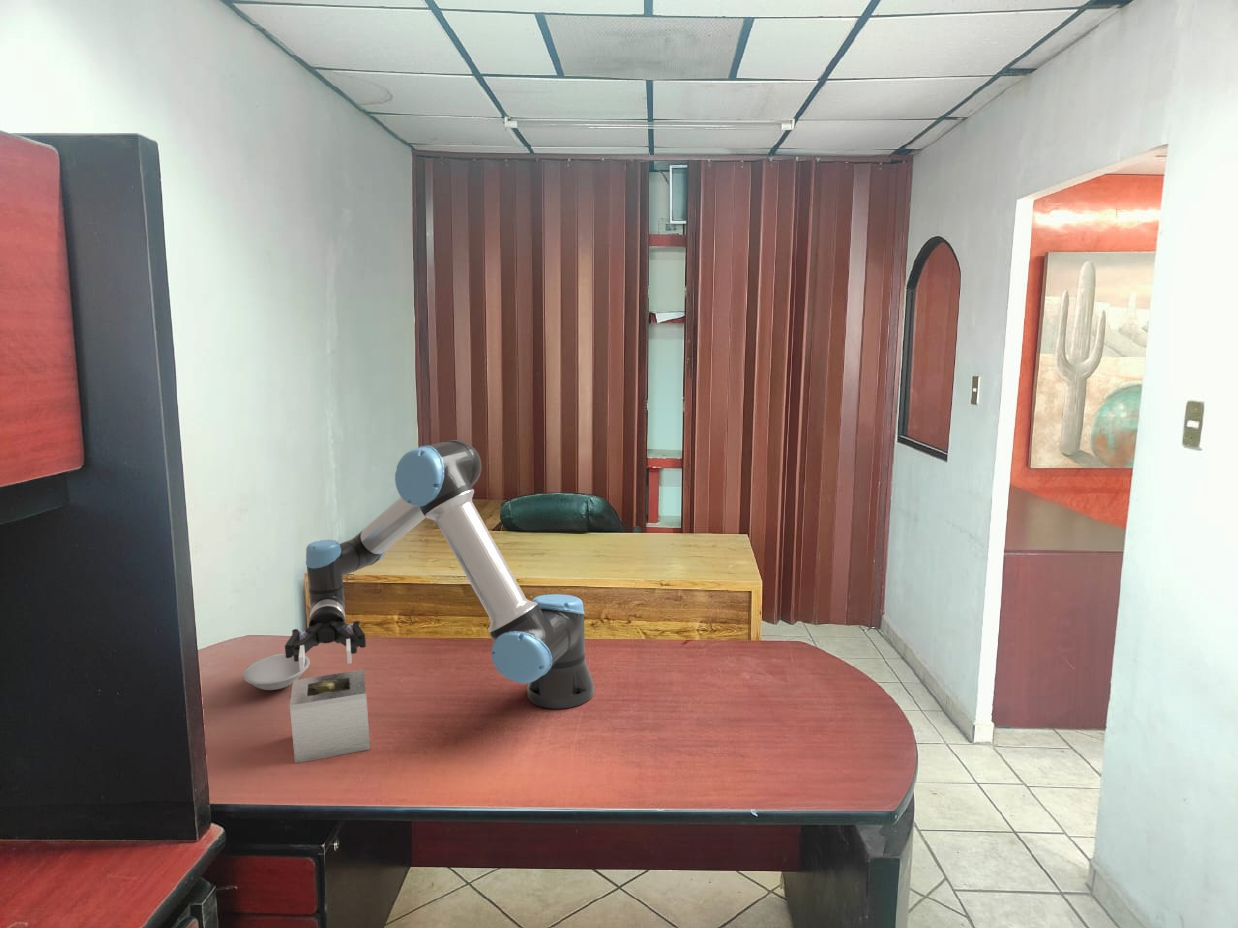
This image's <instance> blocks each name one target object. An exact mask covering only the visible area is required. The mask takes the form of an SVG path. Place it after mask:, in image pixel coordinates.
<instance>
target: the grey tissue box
mask: <svg viewBox="0 0 1238 928" xmlns="http://www.w3.org/2000/svg"><path fill="white" fill-rule="evenodd" d="M365 675H366V673H365V669H359V670H354V671H352V670H351V671H347V672H346V671H345V672H340V673H334V674H327V675H320V676H315V677H314V676H312V677H305V678H298V679H297V680H293V683H292V684H291V685H292V686H291V687H292V688H291V694H290V701H289V711H290V713H289V714H290V723H291V724H290V725H291V735H292V743H293V745H292V746H293V754H294V755H293V756H294V764H297V763H298V764H299V763H304V762H309V761H310V762H311V761H316V760H321V759H326V758H333V757H337V756H342V755H343V756H344V755H347V754H353V753H359V752H364V751H370V750H371V740H370V727H369V716H368V715H369V713H368V712H369V711H368V700H367V690H366V689H367V688H366V677H365ZM326 691H331V693H325V694H319V693H322V692H326ZM317 694H318V695H317Z"/></svg>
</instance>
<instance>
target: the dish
mask: <svg viewBox="0 0 1238 928" xmlns="http://www.w3.org/2000/svg"><path fill="white" fill-rule="evenodd" d="M310 663H311V661H310V658H309V657H308V656H307V655H305V665H304V670H303V671H300V668H299V661H297V662H295V661H294V656H292V657H291V658H286V654H285V652H284V653H277V654H273V655H270V656H266V657H264V658H260V659H258V660H257V661H255V662H253V663H251V664H250V665H249V666H247V667H246V668H245V670H244V671H243V673H242V679H243V680H244V681H245V682H246V683H248V684H251V685H252V686H253V687H255V688H258V689H260V690H264V691H274V690H280V689H283V688H286V687H288V686H291V685H293V680H299V679H300V678H301V676H302V675H303V674H304V673H305V671H306V670H307V669H308V668H309V666H310Z"/></svg>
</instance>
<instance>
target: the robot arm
mask: <svg viewBox="0 0 1238 928" xmlns="http://www.w3.org/2000/svg"><path fill="white" fill-rule="evenodd" d="M481 472H482V459H481V457H480V455H479V452H478V451H477V450H476V449H475V448H474V447H473V446H472V445H471V444H470V443H468V442H465V441H463V440H461V439H460V440H457V439H451V440H445V441H442V442H438V443H431V444H428V445H421V446H418V447H417V448H415V449H411V450H409V451H408V452H406V453H405V454H404V455H403V456H402V457H401V458H400V459H399V461H398V463H397V465H396V471H395V473H394V483H395V487H396V489H397V493H398V494H399V496H400V497H399V498H398V499H396V500H395V501H394V502H393V503H392V504H390V505H389V506H388V507H387V508H386V509H385V510H384V511H383V512H382V513H380V515H379V516H377V517H376V518H375V519H373V520H372V521H371V522H370V523H369V524H368V525H367V526H365V527H364V528H363V529H362V530H361V531H360V532H359V533H357V534H356V535H355V536H354V537H352V538H351V539H348V540H346V541H344V542H341V543H340V542H339V541H337V540H334V539H322V540H321V539H320V540H316V541H313V542H310V543H308V544H307V546H306V549H305V551H306V552H305V565H306V571H307V582H308V595H309V608H310V609H309V610H310V612H309V620H308V627H307V628H306V629H305V630H304V631H302V630H300V629H298V628H295V629H292V633H291V634H292V635H290V637H289V639H288V640H287V641H286V643H285V645H284V653H285V654H286V658H291V657H292V656H294V661H295V662H297V661H299V668H300V671H303V670H304V665H305V656H306V654H307V653H308V652H309V651H310V650H311V649H312V648H313V647H318V646H319V645H320V644H330V643H334V642H335V643H336V644H342V646H344V647H346V649H345V650H346V659H347V665H348V664H353V663H352V655H353V654H357V653H358V648H361V649H363V648H366V647H367V643H366V642H367V641H366V634H365V633H364V631H363V629H362V628H361V624H360V621H359V620H358V621H357V620H355V621H353V623H351V624H350V625H348V624H347V623H346V612H345V609H346V599H345V594H344V578H343V577H345V576H347V575H349V574H352V573H354V572H356V571H358V570H361V569H363V568H365V567H368V566H372V565H375V564H376V563H377V562H379V561H381V560H382V559H383V557H384V556H385V554H386V551H387V550H389V549H390V548H391V547H392V546H393V545H394V544H396V543H398V541H400V540H401V539H402V538H403V537H404V536H405V535H407V534H408V533H409V532H410V531H411V530H412V529H414V528H416V526H417V525H419V524H420V523H421V522H422V521H424V520H425V519H428V520H432V521H435V523H436V525H437V526H438V528H439V529H440V531H441V533H442V535H443V537H444V539H445V541H446V543H447V544H448V546H449V548H450V550H451V552H452V553H453V555H454V556H455V559H456V561H457V562H458V564H459V566H460V568H461V570H462V571H463V573H464V575H465V577H466V578H467V580H468V582H469V584H470V586H471V587H472V590H473V591H474V592H475V594H476V596H477V598H478V600H479V602H480V603H481V605H482V606H483V608H484V611H485V612H486V614H487V616H488V618H489V619H490V623H489V627H488V630H487V631H488V633H489V635H490V637H491V639H492V640H493V644H492V646H491V647H492V648H491V660H492V664H493V666H494V667H495V669H496V670H497V671H498V673H499V674H500V675H501V676H502V677H504V678H505V679H507V680H509V681H511V682H515V683H517V684H527V689H526V690H527V699H528V700H529V701H530V703H532V704H533V705H536V706H538V707H540V708H545V709H554V710H555V709H556V710H559V709H560V710H561V709H569V708H575V707H577V706H580V705H583V704H585V703H587V702H588V701H589V700H591V699H592V698H593V696H594V693H595V691H594V690H595V687H594V680H593V678H592V675H591V673H590V670H589V667H588V664H587V662H586V643H585V640H586V639H585V637H586V635H585V632H586V631H585V613H586V612H585V610H584V602H583V600H582V599H580V598H579V597H577V596H575V595H570V594H569V595H568V594H559V593H558V594H557V593H555V594H543V595H539V596H536V597H534V598H532V600H529V599H527V598H526V596H525V594H524V592H523V590H522V588H521V586H520V584H519V583H518V581H517V579H516V577H515V576H514V574H513V572H512V571H511V569H510V567H509V565H508V563H507V561H506V559H505V558H504V556H503V554H502V553H501V550H500V549H499V548H498V545H497V544H496V542H495V540H494V538H493V537H492V535H491V533H490V532H489V529H488V528H487V526H486V524H485V522H484V521H483V519H482V517H481V515H480V513H479V511H478V509H477V508H476V505H475V504H474V503H473V497H474V494H475V489H474V488H473V486H474V485H475V483H477V482H478V480H479V478H480V476H481Z"/></svg>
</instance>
